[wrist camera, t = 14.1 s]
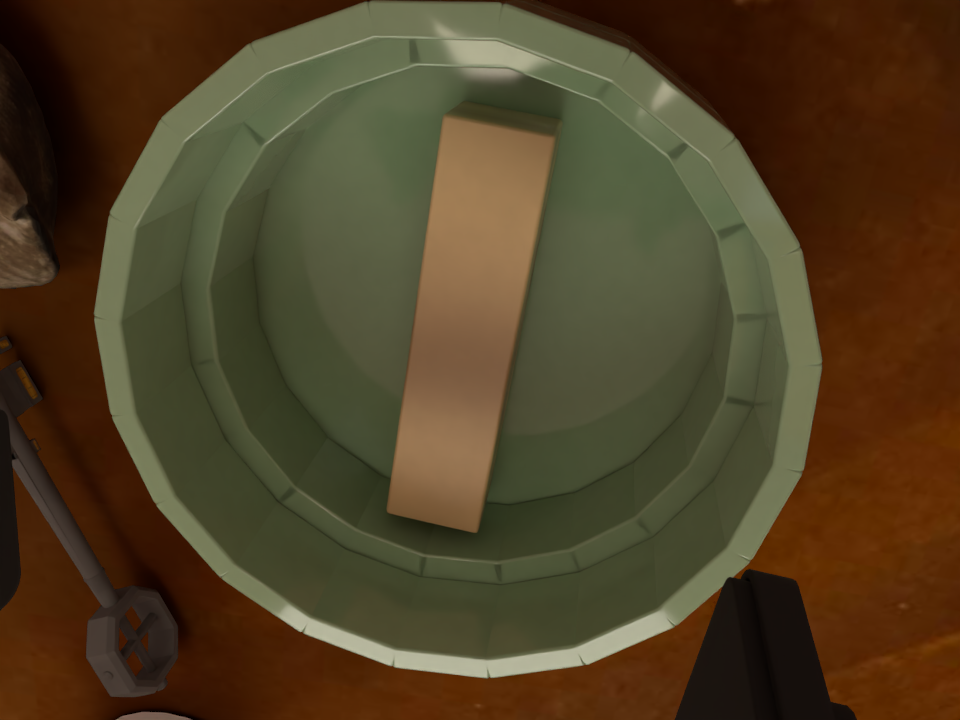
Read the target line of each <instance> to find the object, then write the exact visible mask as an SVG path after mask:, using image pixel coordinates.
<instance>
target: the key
mask: <svg viewBox="0 0 960 720" xmlns="http://www.w3.org/2000/svg"><path fill="white" fill-rule="evenodd" d="M12 347H13V346H12V345H11V343H10V341H9V340H8V338H7V336H5V337H2V338H0V354H2V353H3V352H5V351H7V350H8V349H10V348H12ZM42 399H43V398H42V396H41V395H40V393H39V391H38V389H37V388H36V386H35V384H34V383H33V381H32V379H31V377H30V376H29V374H28V372H27V371H26V369H25V367H24V365H23V364H22V362H21V360H19V361H16V362H14V363H12V364H11V365H9V366H7V367H6V368H4V369H2V370H1V371H0V409H1V410H3V411H5V413H6V414H7V416H8V421H9V431H10V444H11V456H12V467H13V468H14V470H15V471H16V473H17V474H18V476H19V478H20V479H21V481H22V482H23V484H24V485H25V487H26V488H27V490H28V492H29V493H30V495H31V496H32V498H33V499H34V501H35V503H36V504H37V506H38V507H39V509H40V510H41V512H42V514H43V515H44V517H45V518H46V520H47V521H48V523H49V524H50V526H51V528H52V529H53V531H54V532H55V534H56V535H57V537H58V539H59V540H60V542H61V543H62V545H63V546H64V548H65V550H66V551H67V553H68V554H69V556H70V557H71V559H72V560H73V562H74V564H75V565H76V567H77V568H78V570H79V571H80V573H81V575H82V576H83V578H84V579H83V580H84V581H85V582H86V583H87V584H88V586H89V587H90V589H91V590H92V592H93V593H94V595H95V596H96V598H97V599H98V601H99V602H100V604H101V606H100V608H99V609H98V610H97V611H96V612H95V613H94V615H93V616H92V617H91V618H90V619H89V621H88V627H87V648H86V658H87V660H88V661H89V663H90V664H91V666H92V668H93V669H94V671H95V672H96V674H97V676H98V677H99V679H100V680H101V682H102V683H103V685H104V687H105V688H106V690H107V691H108V693H109V695H110V696H111V697H138V696H143V695H148V694H153V693H155V692H156V690H157V691H160V690H162V689H164V688H165V687H166V686H167V683H168V681H167V680H166V678H165V677H166V675H167V674H168V672H169V671H170V669H171V668H172V666H173V665H174V663H175V662H176V660H177V658H178V625H177V624H176V622H175V620H174V618H173V617H172V615H171V613H170V612H169V610H168V608H167V606H166V605H165V603H164V601H163V600H162V598H161V596H160V594H159V593H158V591H157V590H156V589H151V588H145V587H140V586H134V585H132V586H128V587H124V588H120V589H116V590H115V589H114V588H113V586H112V584H111V582H110V580H109V579H108V577H107V575H106V573H105V569H104V568H103V567H102V566H101V565H100V563H99V561H98V559H97V558H96V556H95V554H94V552H93V551H92V549H91V547H90V545H89V544H88V542H87V540H86V538H85V537H84V535H83V533H82V531H81V530H80V528H79V526H78V524H77V523H76V521H75V519H74V517H73V516H72V514H71V512H70V510H69V509H68V507H67V505H66V503H65V502H64V500H63V498H62V497H61V495H60V493H59V491H58V490H57V488H56V486H55V484H54V483H53V481H52V479H51V477H50V476H49V474H48V472H47V470H46V469H45V467H44V465H43V463H42V462H41V460H40V458H39V456H38V455H37V452H38V451H39V450H41V448H40V447H39V445H38V443H37V442H36V440H35V439H31V440H29V439H28V438H27V436H26V434H25V432H24V431H23V429H22V427H21V426H20V424H19V422H18V421H17V419H16V418H17V417H18V416H19V415H21V414H22V413H24V411H25V410H27V409H28V408H30V407H32V406H34V405H35V404H36V403H38V402H39V401H41V400H42ZM131 606H132V607H133V608H134V610H135V612H136V613H137V615H138V617H139V618H140V620H141V622H142V623H141V625H140V626H139V627H138V629H137V630H136V631H134V629H133V627H132V626H131V624H130V622H129V621H128V619H127V617H126V616H125V613H126V612H127V611H128V609H129V608H130V607H131ZM119 627H120V629H121V631H122V632H123V634H124V635H125V637H126V639H127V640H128V642H127V643H126V644H125V646H124V647H123V648H122V650H121V651H119ZM147 632H148V652H147V651H146V649H145V647H144V646H143V644H142V642H141V640H142V638H143V637H144V636H145V634H146V633H147ZM133 651H134V652H135V653H136V655H137V657H138V658H139V660H140V662H141V663H142V665H143V668H142V669H141V670H140V672H139V673H138V675H137V676H136V677H135V675H134V674H133V672H132V670H131V669H130V667H129V665H128V664H127V662H126V660H127V659H128V657H129V656H130V655H131V653H132V652H133Z"/></svg>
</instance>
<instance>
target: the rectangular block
mask: <svg viewBox="0 0 960 720" xmlns="http://www.w3.org/2000/svg"><path fill="white" fill-rule="evenodd" d="M562 126H563V122H562V121H561V120H560V119H556V118H550V117H545V116H540V115H535V114H530V113H525V112H519V111H514V110H509V109H504V108H499V107H493V106H488V105H483V104H478V103H473V102H468V101H463V102H461V103H460V104H458V105H457V106H455V107H454V108H452V109H451V110H450V111H448V112H447V113H445V114H444V116H443V118H442V125H441V132H440V138H439V145H438V152H437V159H436V166H435V173H434V180H433V187H432V194H431V201H430V208H429V215H428V222H427V229H426V236H425V243H424V250H423V257H422V264H421V271H420V278H419V285H418V292H417V299H416V306H415V313H414V320H413V327H412V334H411V341H410V347H409V354H408V361H407V368H406V375H405V382H404V389H403V396H402V403H401V410H400V417H399V424H398V431H397V438H396V445H395V452H394V459H393V466H392V473H391V480H390V487H389V494H388V501H387V508H386V510H387V513H389V514H393V515H398V516H402V517H406V518H411V519H415V520H420V521H424V522H428V523H433V524H437V525H441V526H446V527H450V528H455V529H459V530H463V531H468V532H472V533H477V532H478V530H479V527H480V523H481V520H482V516H483V512H484V508H485V504H486V501H487V497H488V493H489V489H490V486H491V481H492V476H493V471H494V466H495V461H496V456H497V451H498V446H499V441H500V436H501V431H502V426H503V421H504V416H505V411H506V406H507V401H508V396H509V391H510V386H511V381H512V376H513V371H514V366H515V361H516V356H517V351H518V346H519V341H520V336H521V331H522V326H523V321H524V316H525V311H526V306H527V301H528V296H529V291H530V286H531V281H532V276H533V271H534V266H535V261H536V256H537V251H538V246H539V241H540V236H541V231H542V226H543V221H544V216H545V211H546V206H547V201H548V196H549V191H550V186H551V181H552V176H553V171H554V166H555V161H556V156H557V151H558V146H559V141H560V136H561V131H562Z"/></svg>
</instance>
